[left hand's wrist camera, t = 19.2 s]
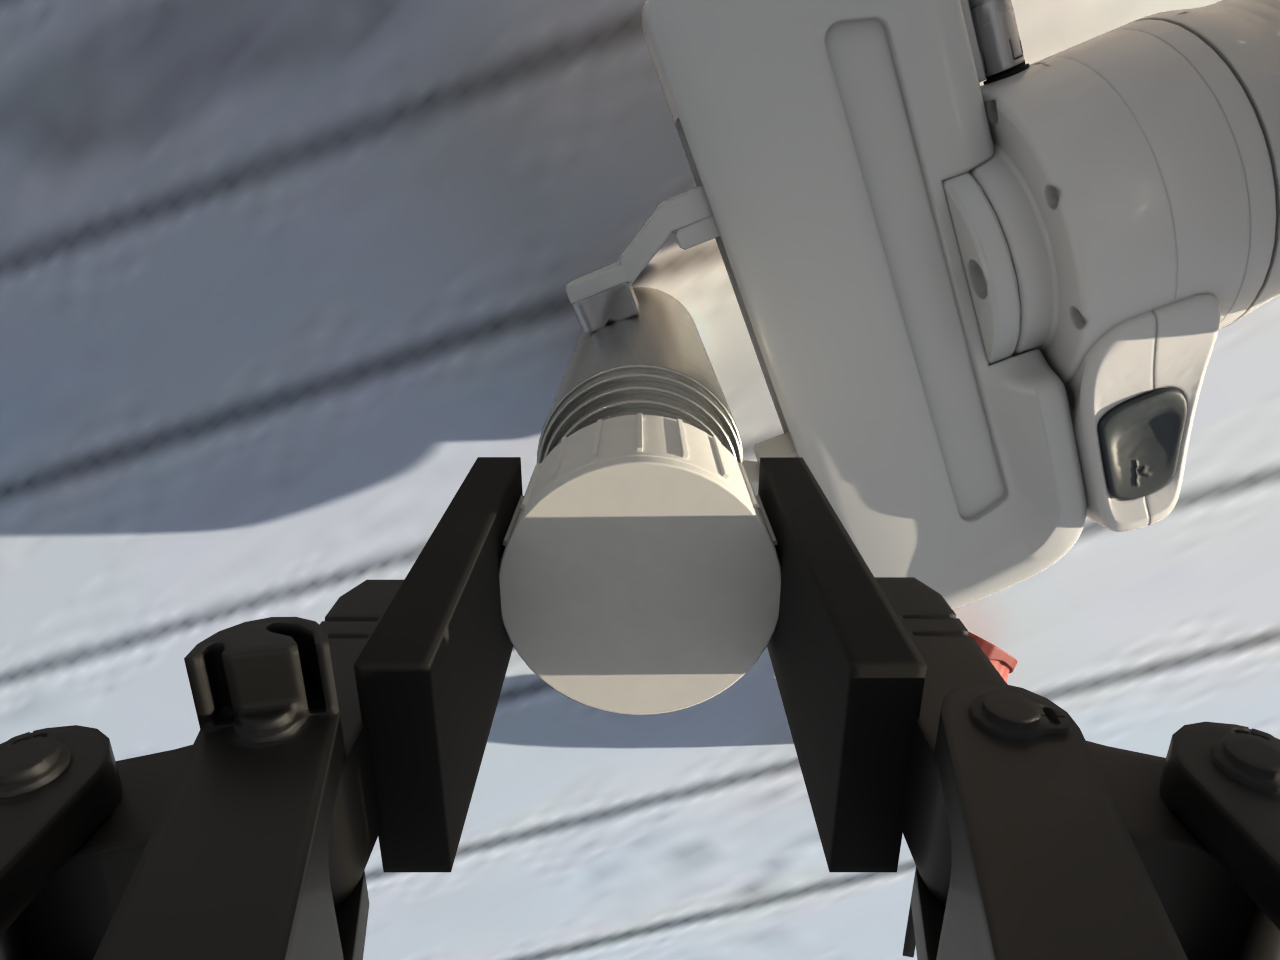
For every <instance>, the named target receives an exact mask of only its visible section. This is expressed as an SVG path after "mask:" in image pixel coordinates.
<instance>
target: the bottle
mask: <svg viewBox="0 0 1280 960" xmlns="http://www.w3.org/2000/svg"><path fill="white" fill-rule="evenodd" d="M633 290H634V292H635V295H636V298H637V300H638V303H639V313H638V314H635V315H633V316H631V317H628V318H626V319H623V320H619V321H614V320H610V319H609V320H608V322H607V323H606V325H605V326H604V327H602V328H600V329H599V330H596V331H593V332H590V333H584V332H583V330H582V333H581V335H580V338H579V340H578V343H577V345H576V348H575V350H574V353H573V355H572V358H571V360H570V363H569V365H568V368H567V370H566V373H565V375H564V378H563V380H562V382H561V385H560V387H559V390H558V392H557V395H556V397H555V400H554V402H553V405H552V407H551V410H550V412H549V415H548V417H547V420H546V422H545V425H544V427H543V430H542V433H541V436H540V439H539V445H538V451H537V463H540V464H541V463H542V461H543V460H544V458H545V457H546V456H547V455H548V454H549V453H550V452H551V451H552V450H553V449H554V448H555V447H556V446H557V445H558V444H560V443H561V441H562V438H563V437H565V436H566V437H569V436H570V435H572V434H573V433H575V432H577V431H578V430H580V429H582V428H584V427H586V426H589V425H591V424H593V423H595V422H597V420H599V419H602V420H605V419H609V418H613V417H619V416H625V415H637V413H642V415H654V416H662V417H667V418H671V419H676V420H677V419H681V420H682V421H683V422H684V423H687V424H690V425H692V426H694V427H696V428H698V429H700V430H702V431H704V432H706V433H707V434H709V435H710V436H711V437H713V436H715V437H717V438H718V441H719V442H720V443H721V444H722V445H723V446H724V447H725V448H726V449H727V450H728V451H730V453H731V454H732V455H733V456H734V457H735V459H736V460H737V461H738V462H739V463H741V462H742V463H743V450H742V443H741V439H740V436H739V432H738V429H737V427H736V424H735V422H734V419H733V417H732V414H731V412H730V409H729V407H728V404H727V402H726V399H725V397H724V394H723V392H722V389H721V387H720V384H719V382H718V379H717V377H716V374H715V372H714V369H713V367H712V364H711V362H710V360H709V357H708V355H707V352H706V350H705V347H704V345H703V342H702V340H701V337H700V335H699V332H698V330H697V327H696V325H695V323H694V320H693V318H692V317H691V315H690V313H689V312H688V311H687V309H686V308H685V307H684V306H683V305H682V304H681V303H680V302H679V301H678V300H676V299H675V298H674V297H672V296H671V295H669V294H667V293H665V292H662V291H660V290H657V289H652V288H646V287H634V288H633Z"/></svg>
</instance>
